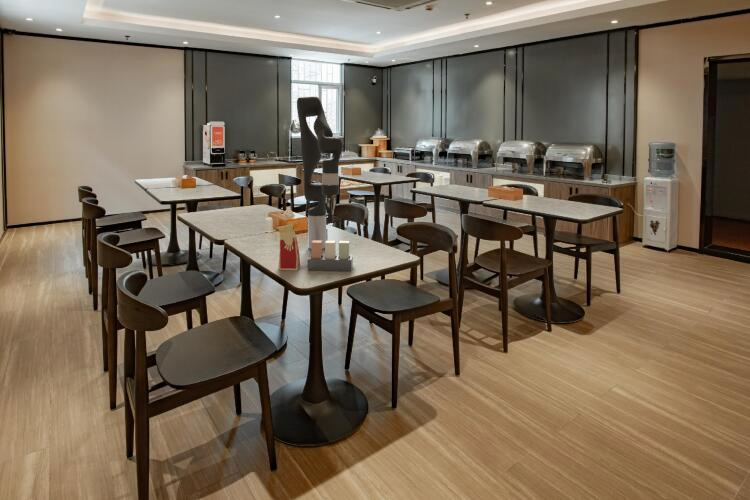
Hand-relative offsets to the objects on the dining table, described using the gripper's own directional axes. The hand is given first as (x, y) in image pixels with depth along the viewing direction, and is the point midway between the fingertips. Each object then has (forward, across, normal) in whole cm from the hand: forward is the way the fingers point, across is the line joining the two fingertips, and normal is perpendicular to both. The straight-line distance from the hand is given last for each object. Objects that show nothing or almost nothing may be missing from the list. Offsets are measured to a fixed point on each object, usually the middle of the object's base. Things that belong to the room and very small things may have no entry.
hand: (330, 222), depth 227 cm
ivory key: (+15, +6, +1) cm, 16 cm away
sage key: (+15, +5, +7) cm, 17 cm away
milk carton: (+20, +6, -18) cm, 27 cm away
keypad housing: (+20, +5, +1) cm, 20 cm away
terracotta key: (+15, +6, -5) cm, 17 cm away
